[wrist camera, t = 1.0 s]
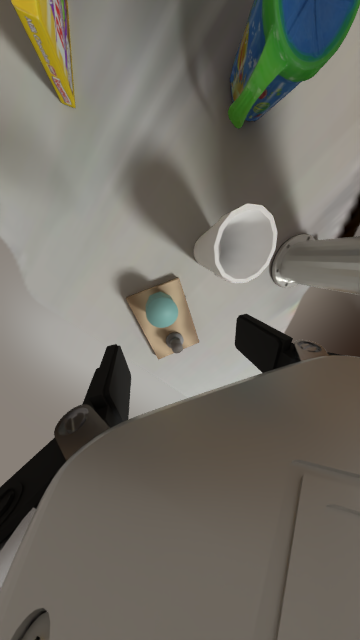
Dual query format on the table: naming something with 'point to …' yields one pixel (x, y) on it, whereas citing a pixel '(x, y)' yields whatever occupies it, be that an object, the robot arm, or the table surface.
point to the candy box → (50, 41)
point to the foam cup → (238, 244)
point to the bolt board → (173, 335)
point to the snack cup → (284, 50)
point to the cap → (161, 310)
